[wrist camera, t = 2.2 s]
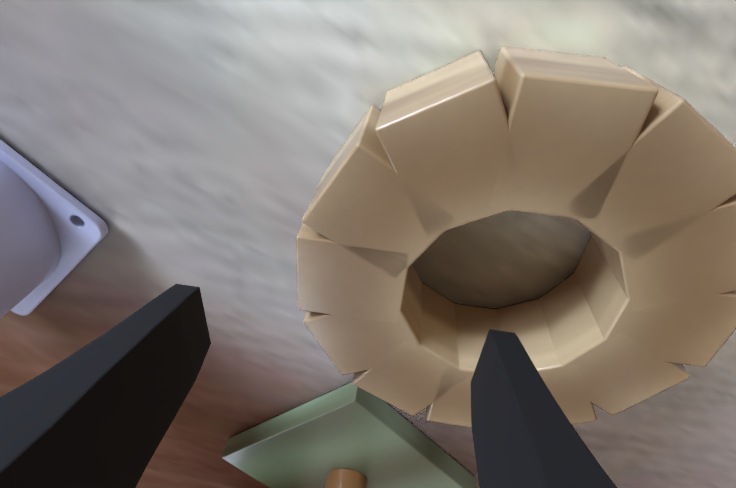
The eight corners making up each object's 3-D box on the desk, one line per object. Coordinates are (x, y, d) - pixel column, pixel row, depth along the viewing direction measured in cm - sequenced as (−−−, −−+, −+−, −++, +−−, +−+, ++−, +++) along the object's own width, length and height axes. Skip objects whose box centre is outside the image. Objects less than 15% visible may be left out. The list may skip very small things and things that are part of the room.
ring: (244, 210, 15) (206, 263, 13) (593, -80, 10) (655, -93, 7) (446, 397, 20) (449, 465, 17) (760, 277, 14) (836, 350, 12)
